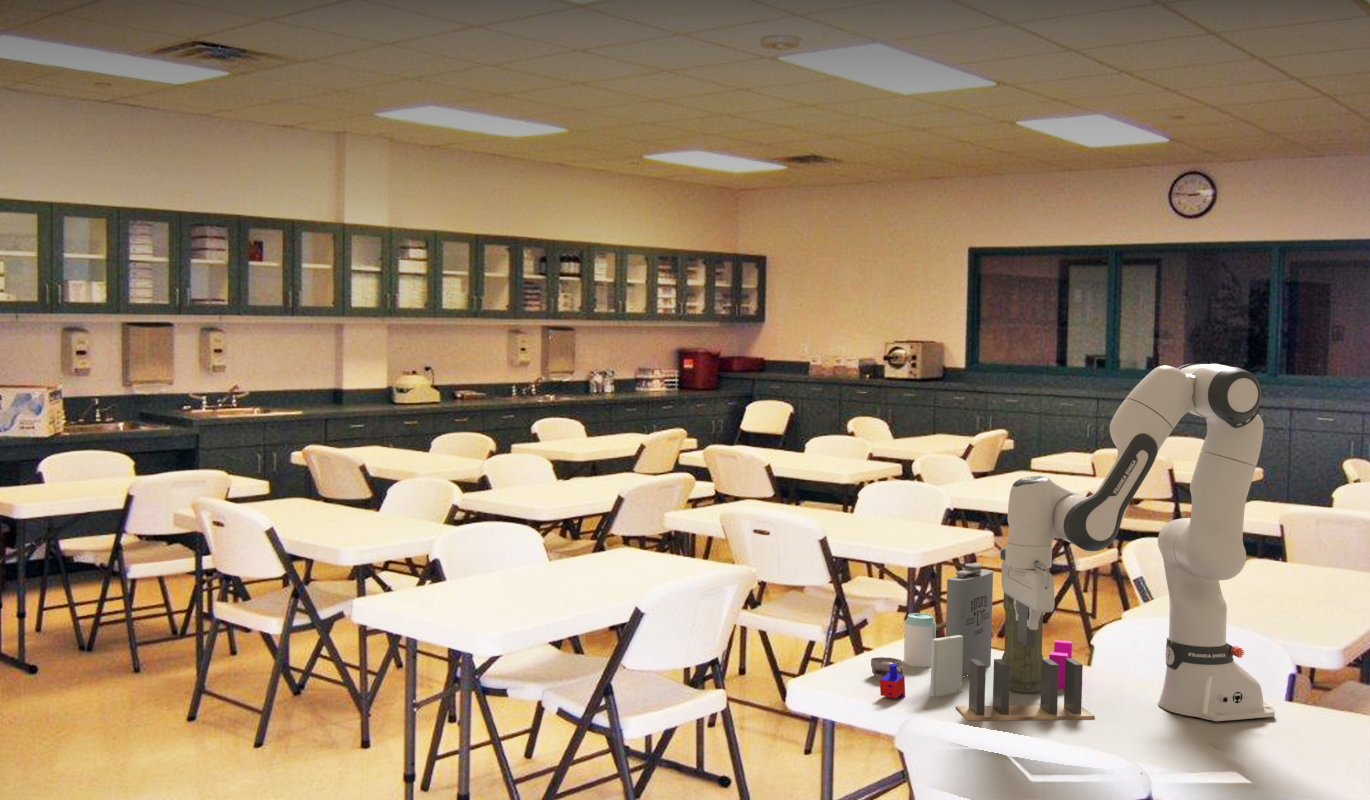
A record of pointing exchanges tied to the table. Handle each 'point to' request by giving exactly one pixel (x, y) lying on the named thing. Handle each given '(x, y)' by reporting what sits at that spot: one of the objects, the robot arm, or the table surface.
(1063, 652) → the toy block
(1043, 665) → the tile
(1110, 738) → the table surface
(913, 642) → the can
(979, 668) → the tile
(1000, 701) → the tile
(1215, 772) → the table surface
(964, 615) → the flask
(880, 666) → the dental mold
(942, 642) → the external hard drive
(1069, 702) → the tile
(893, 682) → the toy building block
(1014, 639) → the thermos
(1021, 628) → the tile
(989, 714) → the oak board
